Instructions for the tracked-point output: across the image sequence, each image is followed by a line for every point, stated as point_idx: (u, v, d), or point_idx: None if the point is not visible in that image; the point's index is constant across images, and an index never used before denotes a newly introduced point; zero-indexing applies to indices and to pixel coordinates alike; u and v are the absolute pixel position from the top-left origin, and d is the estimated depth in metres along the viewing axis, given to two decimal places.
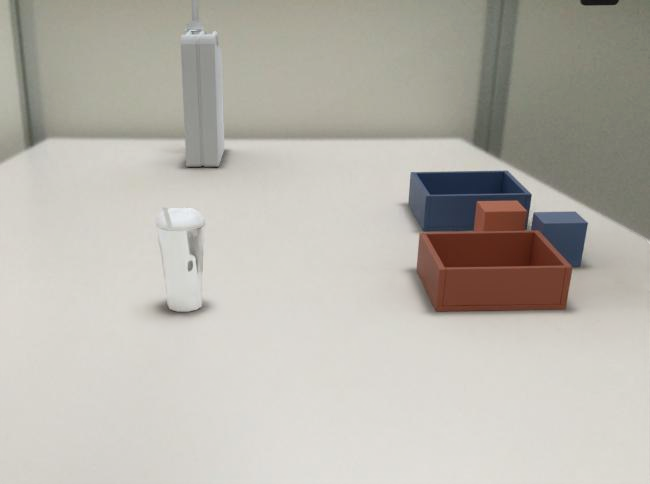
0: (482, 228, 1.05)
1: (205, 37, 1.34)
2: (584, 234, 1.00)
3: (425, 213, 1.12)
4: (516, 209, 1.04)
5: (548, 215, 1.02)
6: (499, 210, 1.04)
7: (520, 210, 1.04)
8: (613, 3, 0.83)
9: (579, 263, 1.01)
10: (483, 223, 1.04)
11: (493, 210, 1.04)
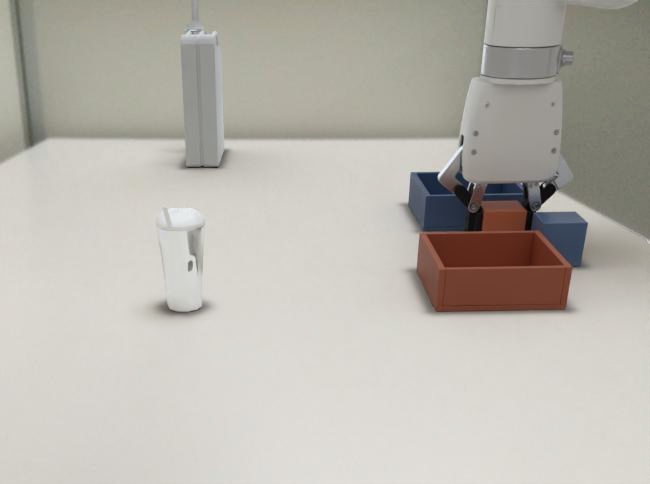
0: (482, 228, 1.05)
1: (205, 37, 1.34)
2: (584, 234, 1.00)
3: (425, 213, 1.12)
4: (516, 209, 1.04)
5: (548, 215, 1.02)
6: (499, 210, 1.04)
7: (520, 210, 1.04)
8: None
9: (579, 263, 1.01)
10: (483, 223, 1.04)
11: (493, 210, 1.04)
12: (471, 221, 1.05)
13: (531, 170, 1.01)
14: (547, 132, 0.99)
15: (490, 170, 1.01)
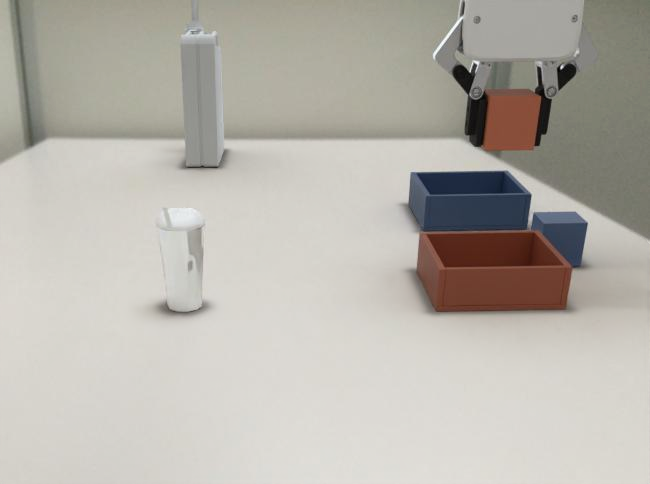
0: (486, 119, 0.87)
1: (205, 37, 1.34)
2: (584, 234, 1.00)
3: (425, 213, 1.12)
4: (528, 95, 0.86)
5: (548, 215, 1.02)
6: (507, 96, 0.85)
7: (533, 96, 0.85)
8: None
9: (579, 263, 1.01)
10: (488, 112, 0.86)
11: (500, 96, 0.85)
12: (473, 111, 0.87)
13: (547, 44, 0.83)
14: None
15: (497, 43, 0.83)
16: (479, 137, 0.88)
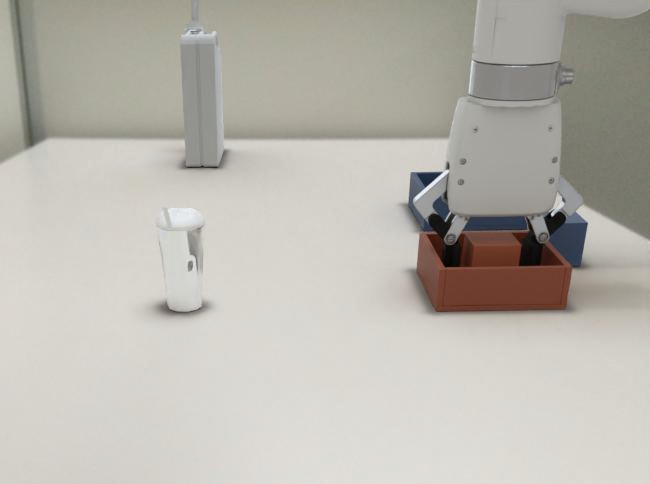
0: (470, 264, 0.93)
1: (204, 37, 1.34)
2: (584, 234, 1.00)
3: None
4: (509, 242, 0.92)
5: None
6: (490, 244, 0.92)
7: (513, 244, 0.92)
8: None
9: (579, 263, 1.01)
10: (472, 258, 0.92)
11: (483, 244, 0.92)
12: (448, 254, 0.93)
13: (526, 202, 0.89)
14: (544, 160, 0.87)
15: (479, 202, 0.89)
16: None
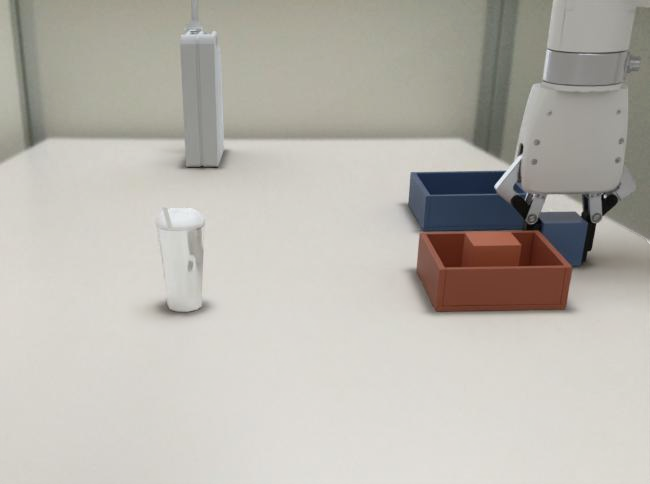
0: (470, 264, 0.93)
1: (204, 37, 1.34)
2: (584, 234, 1.00)
3: (425, 213, 1.12)
4: (509, 242, 0.92)
5: (548, 215, 1.02)
6: (490, 244, 0.92)
7: (513, 244, 0.92)
8: None
9: (579, 263, 1.01)
10: (472, 258, 0.92)
11: (483, 244, 0.92)
12: None
13: (593, 180, 0.97)
14: (612, 141, 0.95)
15: (551, 180, 0.97)
16: None
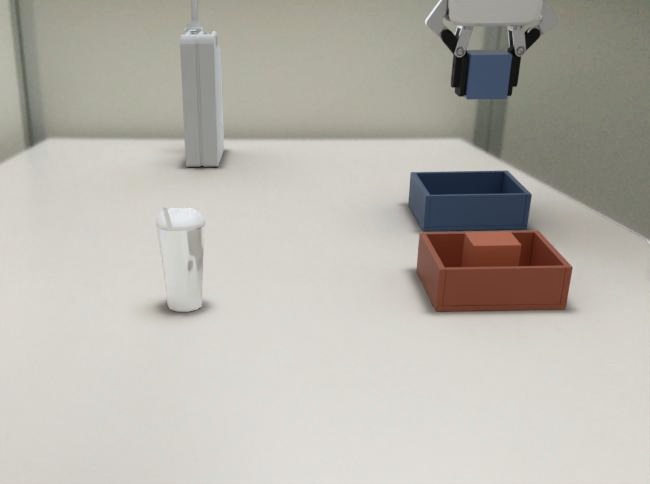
0: (470, 264, 0.93)
1: (204, 37, 1.34)
2: (509, 66, 1.06)
3: (425, 213, 1.12)
4: (509, 242, 0.92)
5: (476, 51, 1.08)
6: (490, 244, 0.92)
7: (513, 244, 0.92)
8: None
9: (505, 96, 1.08)
10: (472, 258, 0.92)
11: (483, 244, 0.92)
12: (458, 67, 1.08)
13: (516, 11, 1.04)
14: None
15: (476, 11, 1.04)
16: (462, 88, 1.08)
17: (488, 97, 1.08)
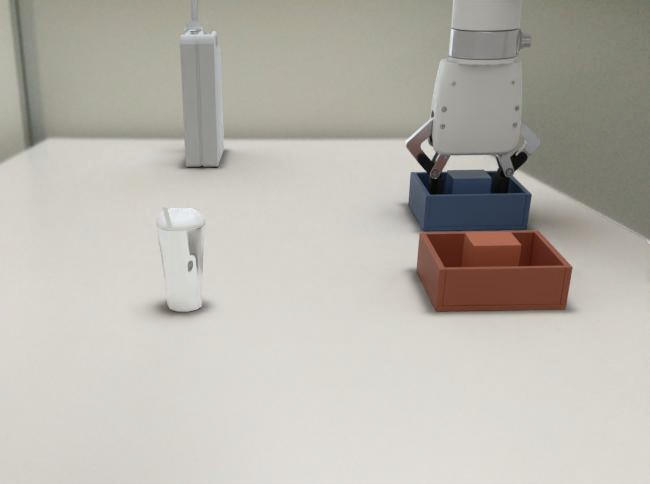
0: (470, 264, 0.93)
1: (204, 37, 1.34)
2: (489, 188, 1.15)
3: (425, 213, 1.12)
4: (509, 242, 0.92)
5: (459, 172, 1.16)
6: (490, 244, 0.92)
7: (513, 244, 0.92)
8: None
9: None
10: (472, 258, 0.92)
11: (483, 244, 0.92)
12: (433, 187, 1.16)
13: (495, 143, 1.12)
14: (508, 108, 1.10)
15: (458, 143, 1.12)
16: None
17: None
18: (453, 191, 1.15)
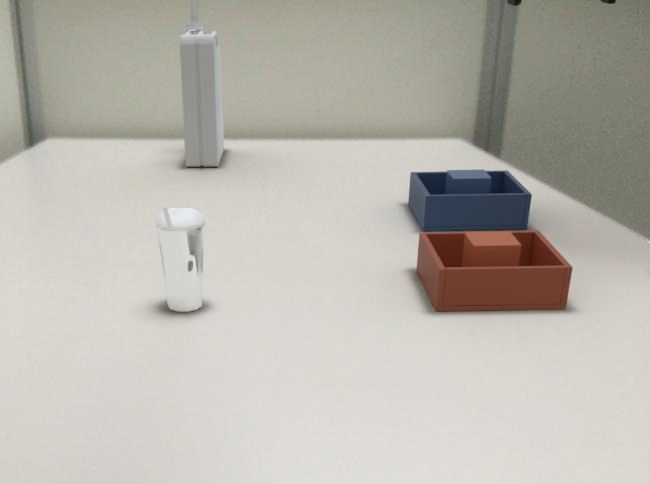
0: (470, 264, 0.93)
1: (204, 37, 1.34)
2: (489, 188, 1.15)
3: (425, 213, 1.12)
4: (509, 242, 0.92)
5: (459, 172, 1.16)
6: (490, 244, 0.92)
7: (513, 244, 0.92)
8: None
9: None
10: (472, 258, 0.92)
11: (483, 244, 0.92)
12: None
13: None
14: None
15: None
16: None
17: None
18: (453, 191, 1.15)
